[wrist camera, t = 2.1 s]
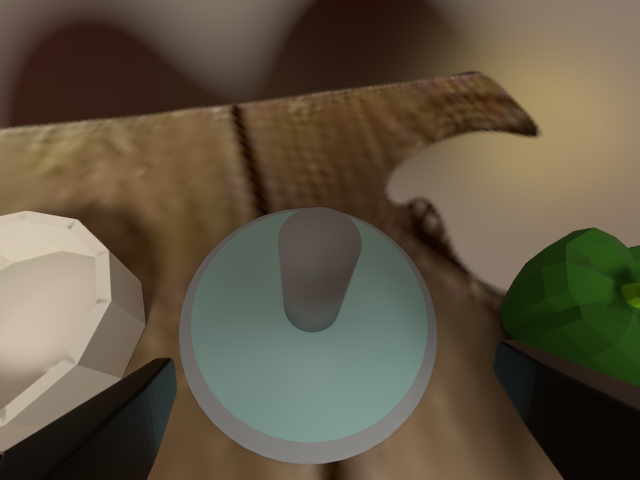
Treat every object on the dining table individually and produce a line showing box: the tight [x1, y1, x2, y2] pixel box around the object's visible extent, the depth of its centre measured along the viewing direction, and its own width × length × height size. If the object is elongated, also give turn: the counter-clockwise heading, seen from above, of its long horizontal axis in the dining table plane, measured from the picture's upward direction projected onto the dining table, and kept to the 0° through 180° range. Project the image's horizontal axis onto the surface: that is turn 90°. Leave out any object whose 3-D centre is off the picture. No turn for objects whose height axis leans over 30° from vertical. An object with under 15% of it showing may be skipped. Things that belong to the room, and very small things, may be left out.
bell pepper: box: [500, 228, 640, 387], centre depth 18 cm, size 8×8×10 cm
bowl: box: [0, 211, 146, 452], centre depth 18 cm, size 12×12×4 cm
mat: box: [179, 208, 437, 464], centre depth 21 cm, size 17×17×1 cm
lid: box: [191, 207, 428, 443], centre depth 17 cm, size 15×15×9 cm
